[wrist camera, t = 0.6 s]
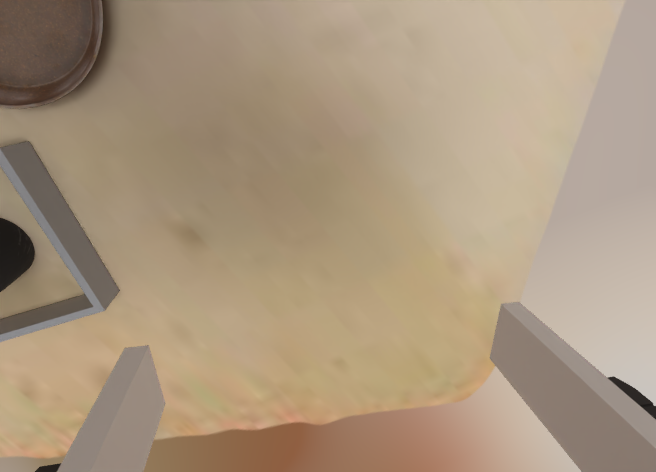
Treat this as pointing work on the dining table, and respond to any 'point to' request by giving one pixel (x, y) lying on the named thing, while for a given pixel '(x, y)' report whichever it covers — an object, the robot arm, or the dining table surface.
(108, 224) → the dining table surface
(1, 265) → the travel mug
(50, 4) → the plant saucer
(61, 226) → the grey open square frame
